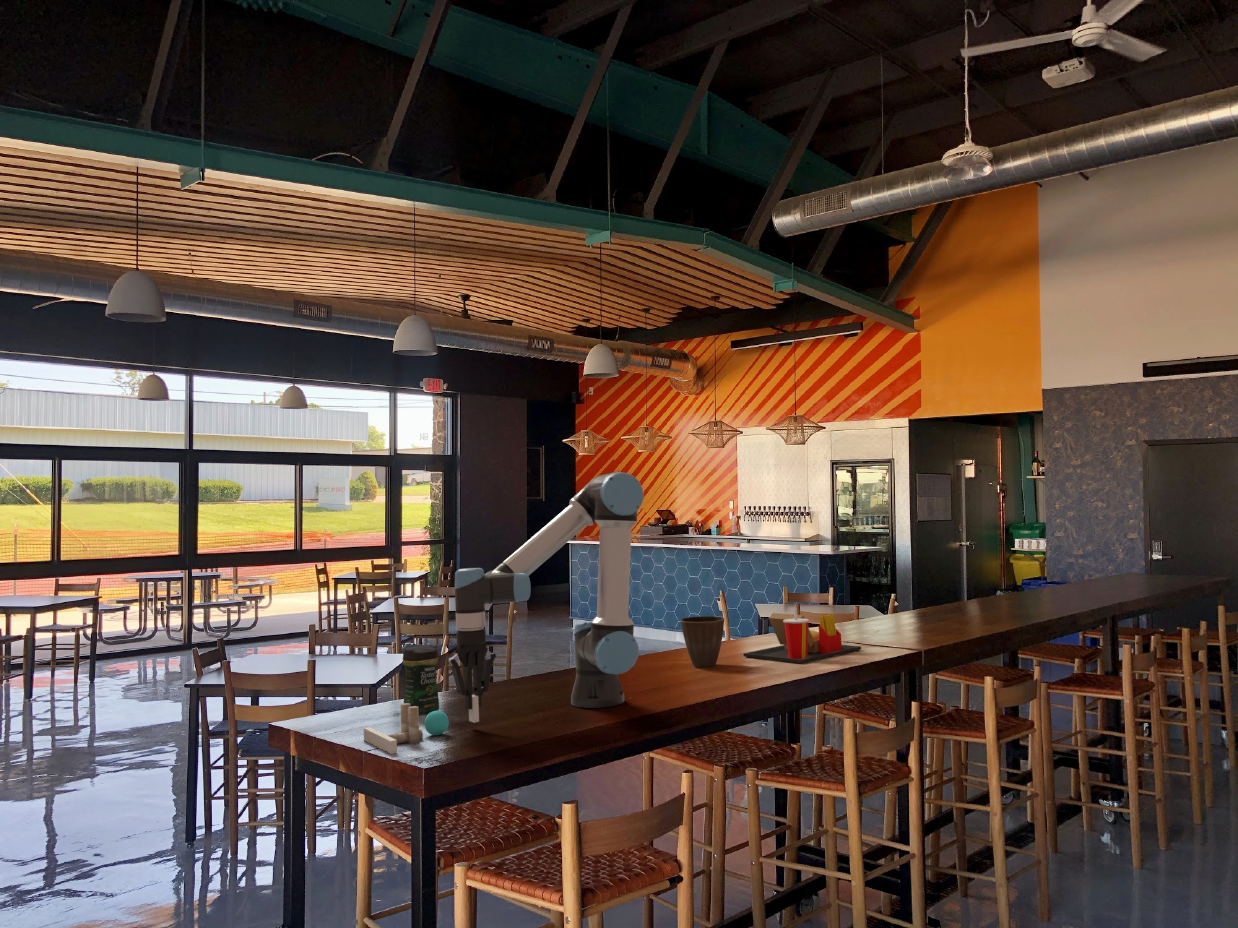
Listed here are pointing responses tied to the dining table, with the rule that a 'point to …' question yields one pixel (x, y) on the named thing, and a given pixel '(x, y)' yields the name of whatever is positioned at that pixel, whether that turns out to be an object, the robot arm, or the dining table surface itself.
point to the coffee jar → (421, 678)
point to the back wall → (380, 740)
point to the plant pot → (703, 639)
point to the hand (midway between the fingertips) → (474, 721)
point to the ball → (436, 723)
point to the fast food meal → (803, 640)
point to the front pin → (404, 736)
